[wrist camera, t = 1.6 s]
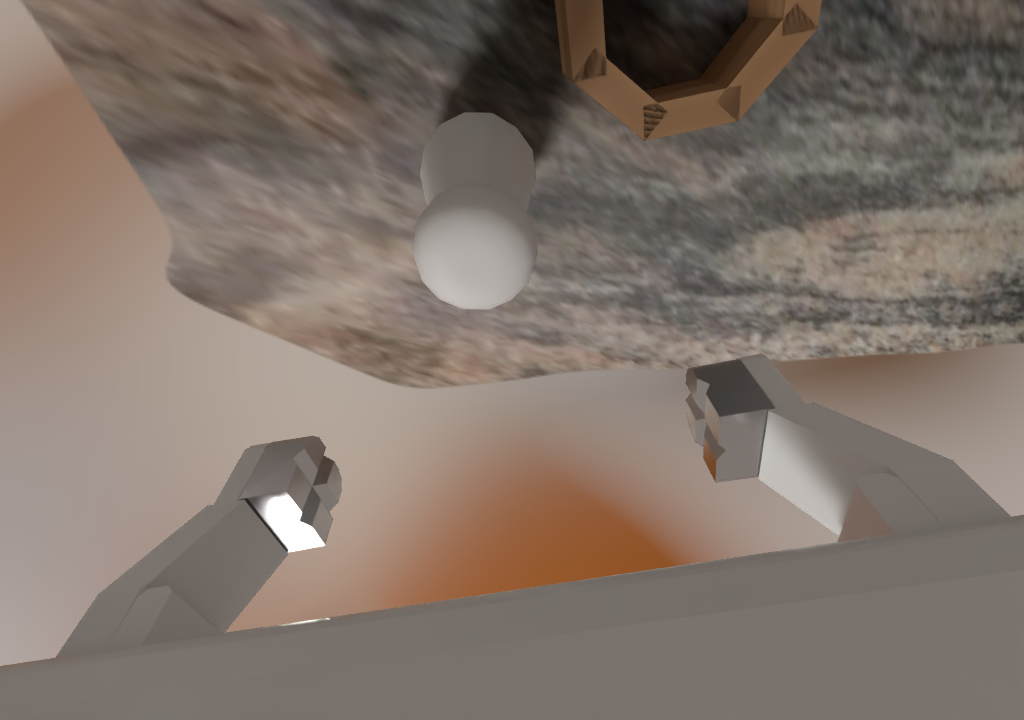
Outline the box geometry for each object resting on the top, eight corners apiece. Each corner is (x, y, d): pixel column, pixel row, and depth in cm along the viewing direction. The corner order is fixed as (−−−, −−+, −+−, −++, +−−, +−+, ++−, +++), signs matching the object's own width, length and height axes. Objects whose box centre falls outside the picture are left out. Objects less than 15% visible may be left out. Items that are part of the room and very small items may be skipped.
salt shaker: (535, 106, 25) (574, 177, 15) (528, 215, 28) (556, 337, 18) (420, 101, 25) (375, 172, 14) (427, 213, 28) (395, 336, 18)
